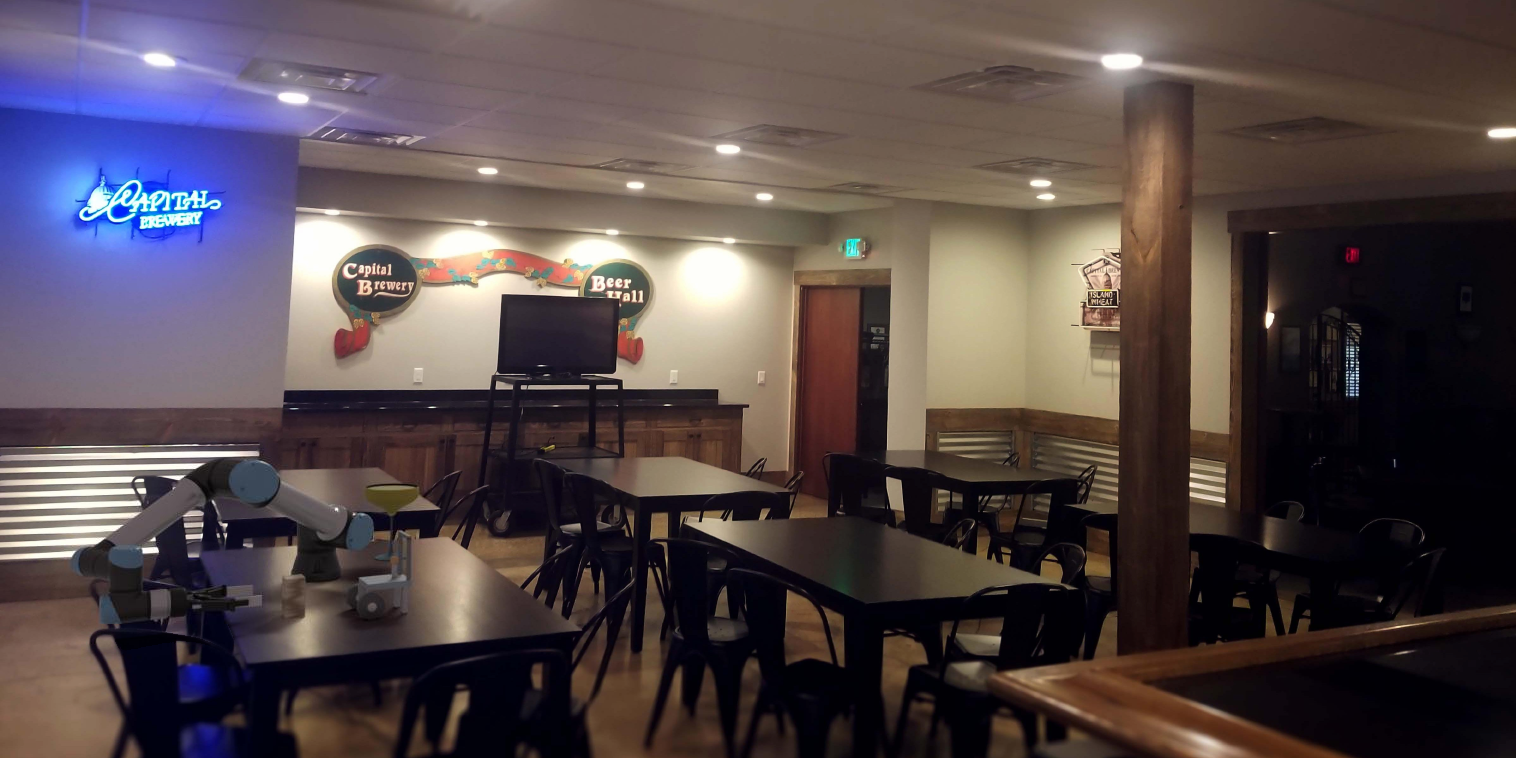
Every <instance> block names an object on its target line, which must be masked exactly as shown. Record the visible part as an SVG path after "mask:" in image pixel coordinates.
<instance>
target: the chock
mask: <svg viewBox="0 0 1516 758" xmlns="http://www.w3.org/2000/svg"><path fill="white" fill-rule="evenodd" d="M281 578H282V579H281V580H282V583H281V584H282V585H281V595H282V596H281V616H282V618H284V619H285V620H292V619H301V618H305V617H306V582H305V577H304V576H303V575H302V574H298V575H291V574H289V575H282V577H281Z"/></svg>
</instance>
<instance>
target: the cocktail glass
mask: <svg viewBox="0 0 1516 758" xmlns="http://www.w3.org/2000/svg"><path fill="white" fill-rule="evenodd" d="M419 495H420V486H419V485H417V484H412V483H399V482H398V483H394V482H391V483H377V484H369V485H367V486H365V487H364V498H365V500H367V502H369V503H371V504H372V505H375V506H376V507H379V508H381V509H382V510H384V511H385V512H386V514H387V515H388V516H389V517H390V530H389V531H390V534H389V535H390V537H389V550H388V552H387V553H385V554H379V555H376V556H375V557H374V559H375V560H377V561H382V562H383V561H384V562H386V561H387V562H391V561H390V560H391V558H392V557H393V556H396V557H398V553H395V552H394V547H393V518H394V516H395V515H396V514H397V513H398V511H399V510H400V509H402V508H404V507H406V506H408V505H410V504H411V503H413V502H415V501H416V500H417V499H418V498H419ZM406 556H407V554H403V555H402V560H405V559H406Z"/></svg>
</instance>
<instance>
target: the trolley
mask: <svg viewBox="0 0 1516 758" xmlns="http://www.w3.org/2000/svg"><path fill="white" fill-rule="evenodd" d="M397 534H398V535H397V536H398V537H397V554H398V557H396V556H393V557H392V558H391V560H390V561H389V562H390V564H391V574H382V575H381V574H379V575H370V576H362V577H361V576H360V577H358V583H355V584H353V585H351V586H350V587H348V589H347V591H346V593H345V597H344V598H345V602H346V604H347V605H348V606H349V607H350V608H352V609H353V610H356V611H357V613H358V615H359V616H361V617H362V618H363V619H365V620H368V621H373V620H376V619H378V618H380V617H381V616H382V614H383V613H384V612H385V608H386V604H385V600H384V598H382V596H381V595H379V594H377V593H376V592H373V591H381V590H383V591H384V590H390V589H393V607H394V608H401V613H402V614H408V613H409V587H412V586H413V580H412V579H411V578H412V535H410V534H408V533H407V532H405V531H403V530H398V532H397ZM404 539H405V540H406V558H405V559H406V563H405V564H406V565H405V566H406V567H405V569H406V570H405V573H406V574H403V559H402V555H404V554H403V551H404V550H403V545H404V544H403V543H404Z"/></svg>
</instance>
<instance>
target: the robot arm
mask: <svg viewBox="0 0 1516 758" xmlns="http://www.w3.org/2000/svg"><path fill="white" fill-rule="evenodd" d="M215 499H224V500H225V499H226V500H233V501H237V502H241V503H243V504H245V505H247V506H249V507H251V508H253V509H256V510H262V509H264V508H266V509H268V510H270V511H273V512H274V513H277V514H279V515H281V516H283V517H285V518H287V519H290V520H292V521H294V522H295V523H296V556H295V559H294V562H293V565H292V568H291V571H290V575H298V574H302V575H303V576H304V577H305V583H312V582H315V583H316V582H317V583H318V582H325V581H332V580H336V579H339V578H341V577H342V575H343V572H342V571H343V569H342V566H341V565H340V560H339V557H338V554H337V549H342V550H348V551H350V552H355V551H361V550H363V549H365V548H366V547H368V545H369V544H370V542H371V540H372V539H373V536H374V531H375V530H374V529H375V527H374V521H373V518H371V516H370V515H368V514H366V513H364V512H357V511H353V510H351V509H349V508H347V507H345V506H343V505H341V504H335V503H329V504H328V503H326V502H324V501H322V500H320V499H317V498H316V497H314V496H312V495H310V494H308V493H306V492H304V491H302V490H300V489H298V488H296V487H294V486H293V485H291V484H288V483H286V482H285V481H282V477H281V475H280V474H279V473H278V472H277V471H276V469H275V468H274V467H273V466H272V465H271V464H269V463H268V462H265V461H262V460H259V459H244V458H235V457H228V456H225V457H217V458H214V459H212V460H209V461H207V462H205V463H203V464H201V465H199V466H198V467H196V468H195V469H193V470H191V471H189V472H188V473H187V474H186V475H184V476H183V477H181V478H180V479H179V480H178V481H177V486H175V487H174V488H172V490H170V491H169V492H167V493H166V494H164V495H162V497H160V498H159V499H157V500H156V501H154V502H153V503H152V504H150V505H149V506H148V507H147V508H145V509H143V510H142V511H141V512H139V513H138V514H137V515H135V516H134V517H132V518H131V519H129V520H128V521H127V522H125V523H124V524H123V525H122V526H120V527H119V528H117V529H115V531H113V532H111V533H110V534H109V535H108V536H106V537H105V538H103V539H102V540H100V541H99V542H98V543H96V544H95V545H94V546H83V547H80V548H78V549H77V550H75V552H73V554H72V556H71V558H70V567H71V569H72V571H73V573H75V574H77V575H80V576H82V577H85V578H88V579H89V578H91V579H96V580H97V579H98V580H101V581H107V582H108V593H106V594H102V595H101V596H100V597H99V607H98V611H99V613H98V614H99V621H100V623H101V624H103V625H108V624H109V625H111V624H120V625H121V624H126V623H133V622H134V623H136V622H143V621H154V622H155V623H157V622H158V621H159V620H162V619H163V620H164V619H167V618H168V617H169V618H171V619H174V618H184V617H185V616H186V615H187V609H191V611H192V612H193V613H196V612H219V611H220V612H231V613H234V612H236V609H242V608H251V607H252V608H253V607H261V606H263V595H262V594H257V595H254V585H253V584H249V585H248V584H247V585H237V586H236V585H235V586H227V584H226V583H222V584H221V585H218V586H213V587H209V588H208V587H207V588H202V589H198V590H191V591H190V590H189V591H187V590H186V588H185V587H175V588H170V589H169V590H168V589H166V588H163V589H161V588H160V589H153V590H143V588H144V586H143V583H144V581H143V578H144V576H143V575H144V562H145V561H144V555H143V547H144V545H146V544H148V543H149V542H150V541H151V540H152V539H155V537H157V536H158V535H160V534H161V533H163V531H165V530H166V529H167V528H169V527H171V526H172V525H173V524H174V523H175V522H178V521H179V520H180V519H181V518H182V517H184V516H185V515H187V514H188V513H190V511H192V510H193V509H194V508H196V507H203V506H205V505H206V504H207V503H208V502H210V501H212V500H215ZM225 597H226V598H225Z"/></svg>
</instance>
